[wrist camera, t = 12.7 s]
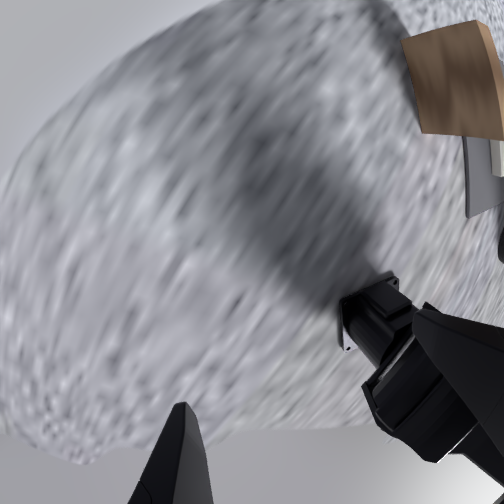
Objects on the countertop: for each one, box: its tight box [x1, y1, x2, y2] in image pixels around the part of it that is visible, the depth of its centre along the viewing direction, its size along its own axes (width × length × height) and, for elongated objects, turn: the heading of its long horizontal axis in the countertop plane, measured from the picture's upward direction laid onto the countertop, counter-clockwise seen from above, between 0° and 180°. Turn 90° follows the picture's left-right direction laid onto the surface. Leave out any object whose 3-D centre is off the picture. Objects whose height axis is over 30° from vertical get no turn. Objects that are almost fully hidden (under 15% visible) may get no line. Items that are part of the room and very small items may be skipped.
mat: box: [463, 60, 504, 218], centre depth 21 cm, size 20×16×1 cm
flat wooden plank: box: [400, 20, 504, 141], centre depth 14 cm, size 9×2×9 cm, turn 13°
